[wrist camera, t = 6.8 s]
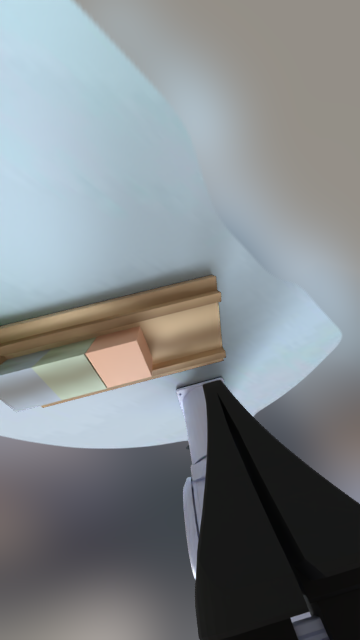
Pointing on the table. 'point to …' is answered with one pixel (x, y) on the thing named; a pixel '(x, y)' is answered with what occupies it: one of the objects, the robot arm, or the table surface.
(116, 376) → the peach pink cube
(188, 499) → the robot arm
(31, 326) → the oak channel board
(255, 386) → the table surface
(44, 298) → the table surface
